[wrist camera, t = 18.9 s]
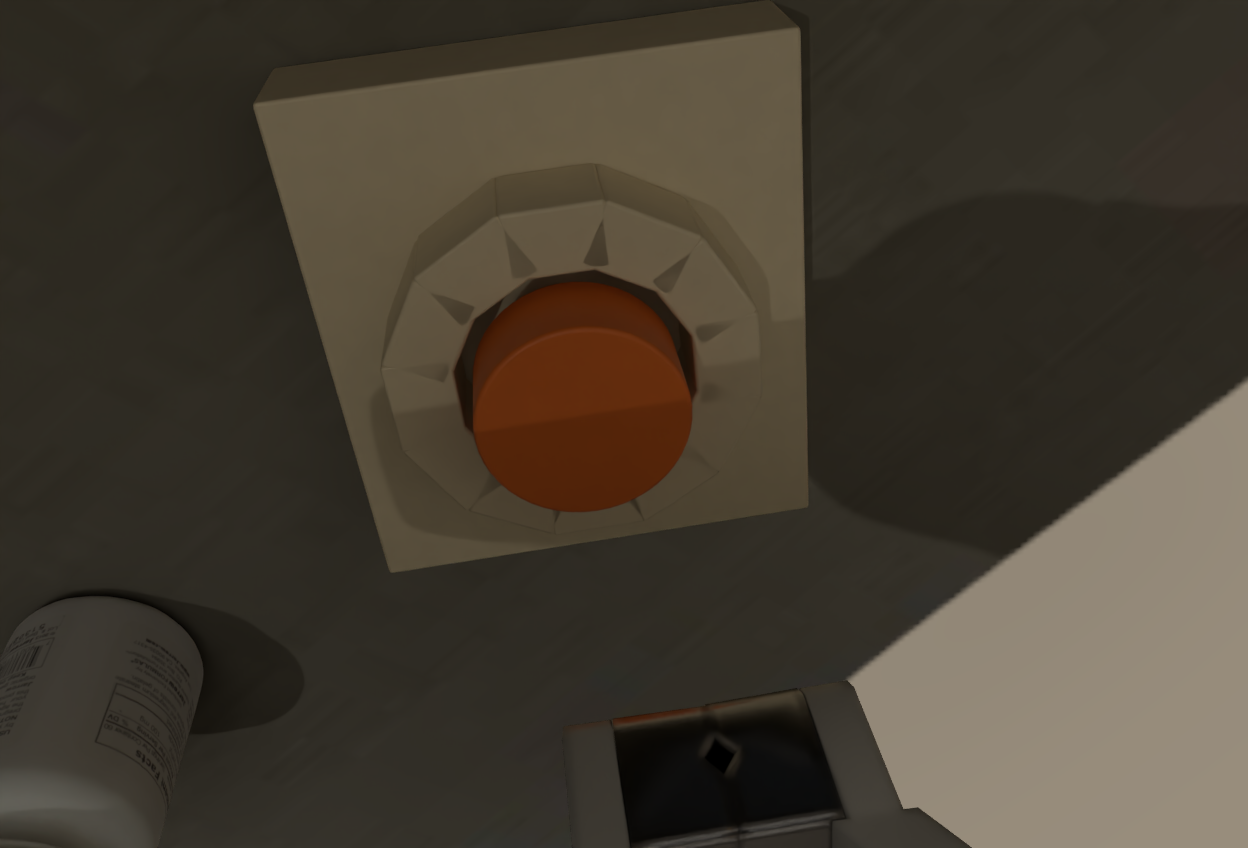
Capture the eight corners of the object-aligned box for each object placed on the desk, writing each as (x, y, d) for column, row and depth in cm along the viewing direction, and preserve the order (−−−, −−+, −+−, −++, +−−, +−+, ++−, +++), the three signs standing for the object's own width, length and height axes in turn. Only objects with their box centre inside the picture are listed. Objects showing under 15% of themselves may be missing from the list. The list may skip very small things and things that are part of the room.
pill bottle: (13, 715, 27) (-133, 1031, 20) (7, 578, 25) (-158, 883, 18) (202, 730, 28) (120, 1035, 21) (211, 599, 26) (124, 896, 19)
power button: (684, 441, 20) (700, 496, 19) (491, 471, 20) (493, 529, 19) (668, 264, 18) (684, 311, 17) (455, 296, 18) (453, 346, 17)
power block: (784, 451, 25) (832, 562, 22) (395, 511, 25) (383, 634, 22) (771, -2, 20) (832, 54, 16) (271, 67, 19) (230, 139, 16)
